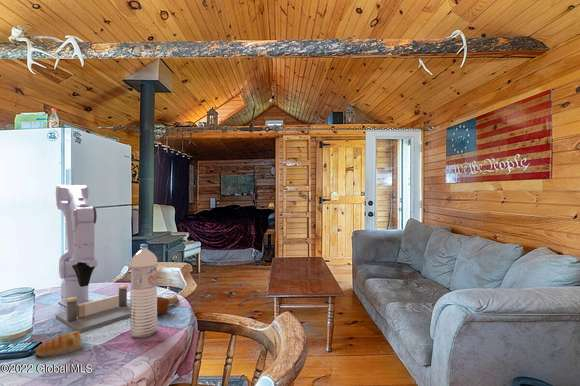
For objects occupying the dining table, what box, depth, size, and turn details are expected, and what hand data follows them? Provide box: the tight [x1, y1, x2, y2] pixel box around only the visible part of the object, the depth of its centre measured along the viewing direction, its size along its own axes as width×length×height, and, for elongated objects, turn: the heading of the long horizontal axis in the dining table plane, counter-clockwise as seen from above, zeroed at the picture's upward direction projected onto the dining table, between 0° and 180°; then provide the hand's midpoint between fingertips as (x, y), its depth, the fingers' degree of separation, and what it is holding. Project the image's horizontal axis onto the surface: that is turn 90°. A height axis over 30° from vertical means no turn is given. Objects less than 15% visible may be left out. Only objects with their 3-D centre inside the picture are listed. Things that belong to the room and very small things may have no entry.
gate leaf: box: [77, 294, 119, 318], centre depth 102 cm, size 12×2×4 cm, turn 144°
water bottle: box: [129, 243, 158, 339], centre depth 90 cm, size 7×7×25 cm
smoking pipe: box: [157, 294, 178, 317], centre depth 110 cm, size 7×18×6 cm, turn 5°
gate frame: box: [55, 284, 131, 333], centre depth 103 cm, size 18×19×8 cm
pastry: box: [35, 330, 83, 358], centre depth 80 cm, size 9×7×4 cm
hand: (84, 285), depth 103 cm, fingers closed
